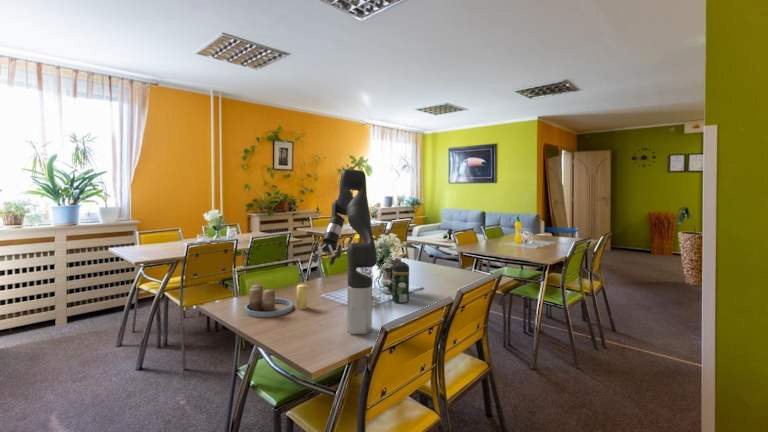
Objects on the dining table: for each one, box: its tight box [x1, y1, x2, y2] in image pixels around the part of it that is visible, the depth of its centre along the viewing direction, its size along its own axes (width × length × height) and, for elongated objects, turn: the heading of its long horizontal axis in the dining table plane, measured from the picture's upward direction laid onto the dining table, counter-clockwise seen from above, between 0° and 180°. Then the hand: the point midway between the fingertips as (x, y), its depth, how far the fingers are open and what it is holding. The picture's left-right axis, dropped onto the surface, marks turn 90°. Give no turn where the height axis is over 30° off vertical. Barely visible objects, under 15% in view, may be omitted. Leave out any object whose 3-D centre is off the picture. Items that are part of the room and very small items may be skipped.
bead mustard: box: [296, 284, 309, 310], centre depth 164 cm, size 5×5×10 cm
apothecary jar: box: [380, 257, 403, 295], centre depth 191 cm, size 12×12×18 cm
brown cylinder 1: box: [248, 287, 262, 312], centre depth 158 cm, size 5×5×10 cm
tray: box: [244, 297, 294, 318], centre depth 162 cm, size 20×20×2 cm
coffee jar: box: [391, 261, 410, 304], centre depth 177 cm, size 10×8×19 cm
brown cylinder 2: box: [263, 288, 276, 312], centre depth 156 cm, size 5×5×10 cm
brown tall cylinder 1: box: [250, 284, 264, 310], centre depth 163 cm, size 5×5×10 cm
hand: (322, 263), depth 177 cm, fingers open, 8 cm apart
